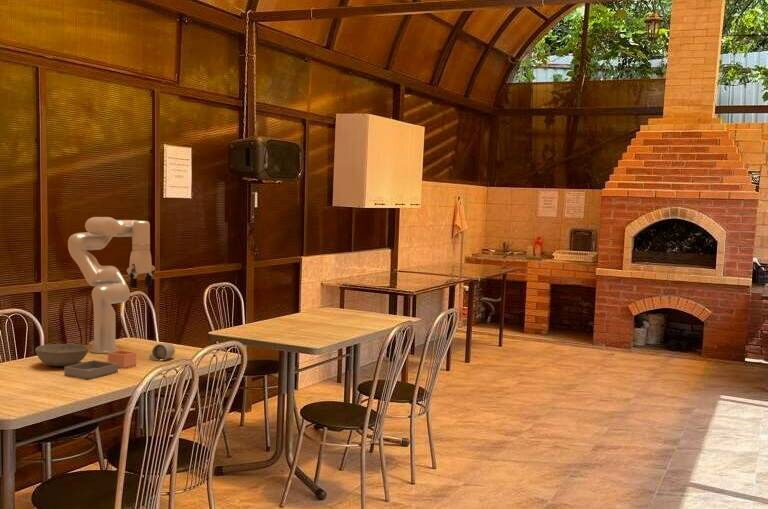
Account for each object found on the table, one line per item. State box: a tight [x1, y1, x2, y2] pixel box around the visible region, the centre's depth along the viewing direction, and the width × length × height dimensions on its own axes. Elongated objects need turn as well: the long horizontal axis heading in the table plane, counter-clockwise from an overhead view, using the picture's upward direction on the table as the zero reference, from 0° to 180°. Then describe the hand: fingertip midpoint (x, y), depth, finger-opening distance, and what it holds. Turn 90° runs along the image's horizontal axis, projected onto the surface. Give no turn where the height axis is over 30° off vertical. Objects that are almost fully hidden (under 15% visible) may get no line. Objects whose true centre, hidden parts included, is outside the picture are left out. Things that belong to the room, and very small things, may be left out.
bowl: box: [34, 343, 90, 367], centre depth 319 cm, size 21×21×8 cm
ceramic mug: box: [149, 342, 176, 362], centre depth 338 cm, size 11×8×8 cm
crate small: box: [107, 349, 137, 370], centre depth 321 cm, size 9×7×6 cm
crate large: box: [63, 359, 119, 380], centre depth 305 cm, size 13×15×4 cm
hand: (141, 286), depth 335 cm, fingers open, 9 cm apart
